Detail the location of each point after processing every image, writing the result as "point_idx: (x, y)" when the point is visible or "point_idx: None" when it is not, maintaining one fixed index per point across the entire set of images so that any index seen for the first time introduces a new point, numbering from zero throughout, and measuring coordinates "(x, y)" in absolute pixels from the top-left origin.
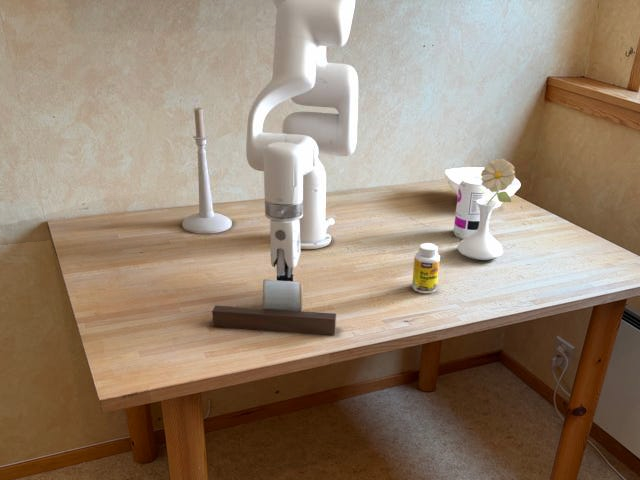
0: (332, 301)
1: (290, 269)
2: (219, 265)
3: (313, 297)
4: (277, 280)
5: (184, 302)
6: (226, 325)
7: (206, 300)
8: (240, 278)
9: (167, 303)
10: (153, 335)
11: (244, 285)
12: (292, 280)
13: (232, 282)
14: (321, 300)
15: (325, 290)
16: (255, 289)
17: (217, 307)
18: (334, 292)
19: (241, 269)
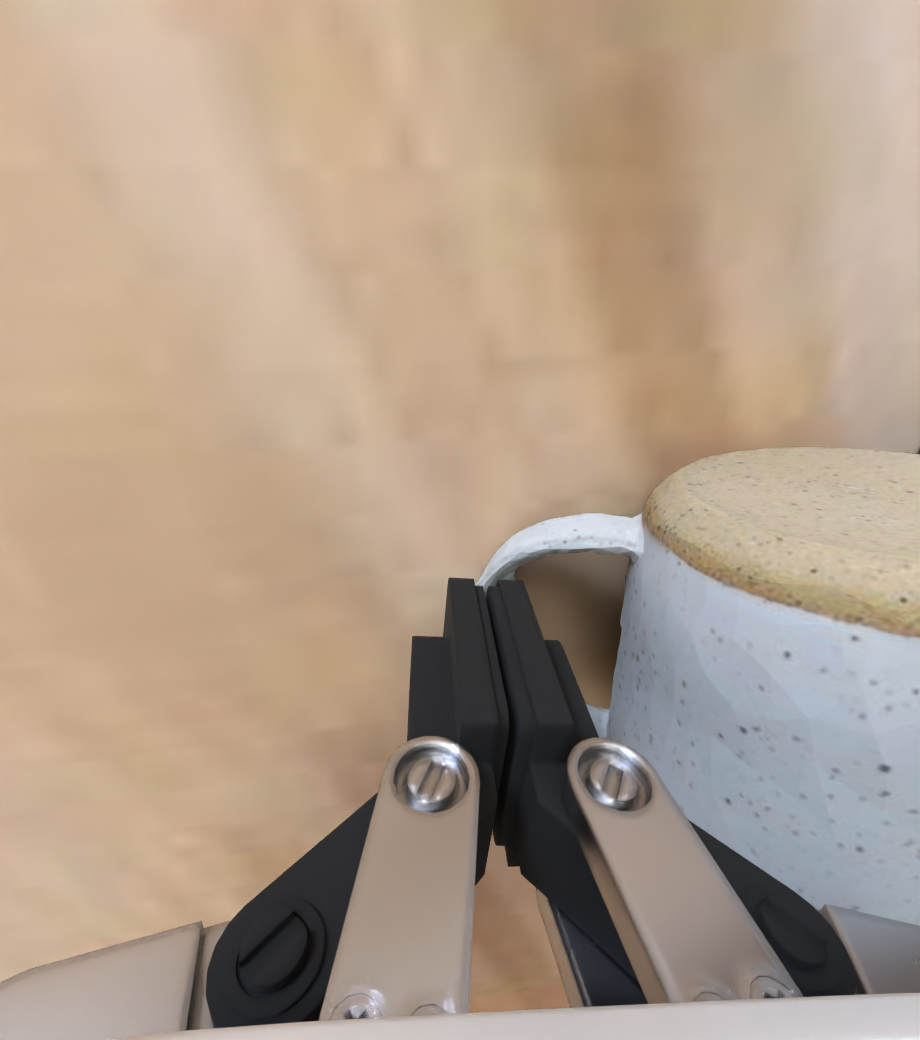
0: (453, 101)
1: (653, 881)
2: (10, 970)
3: (374, 349)
4: (888, 904)
5: (508, 975)
6: None
7: (484, 925)
8: (157, 865)
9: (518, 1009)
10: None
11: (257, 832)
12: (486, 662)
13: (232, 885)
14: (437, 254)
15: (162, 203)
16: (304, 776)
17: None
18: (186, 61)
19: (8, 884)
